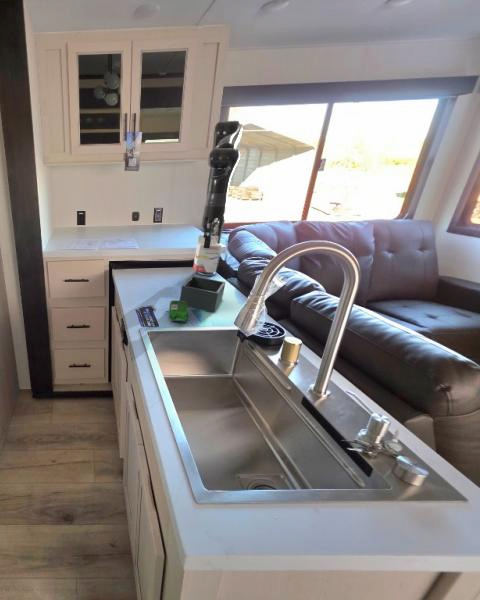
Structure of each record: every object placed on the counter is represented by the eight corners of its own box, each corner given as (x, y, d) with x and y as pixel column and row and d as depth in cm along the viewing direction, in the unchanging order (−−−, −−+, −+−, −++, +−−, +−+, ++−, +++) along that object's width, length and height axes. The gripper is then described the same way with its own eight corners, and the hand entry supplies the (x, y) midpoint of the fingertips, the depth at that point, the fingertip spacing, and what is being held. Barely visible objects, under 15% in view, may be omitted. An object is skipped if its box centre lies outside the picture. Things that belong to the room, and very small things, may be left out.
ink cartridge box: (195, 272, 132) (200, 237, 126) (192, 268, 137) (197, 235, 131) (216, 273, 132) (222, 238, 126) (213, 269, 136) (219, 235, 130)
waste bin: (189, 293, 149) (192, 275, 146) (221, 300, 142) (225, 281, 138) (179, 304, 137) (181, 285, 134) (214, 312, 130) (217, 293, 126)
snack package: (168, 325, 120) (169, 312, 118) (168, 307, 134) (170, 296, 132) (187, 327, 119) (189, 315, 116) (186, 310, 132) (188, 298, 130)
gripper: (221, 207, 116) (214, 251, 123) (229, 203, 127) (221, 244, 134) (201, 205, 120) (194, 248, 126) (210, 202, 131) (203, 241, 137)
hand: (208, 246), depth 130 cm, fingers closed on ink cartridge box, 6 cm apart
